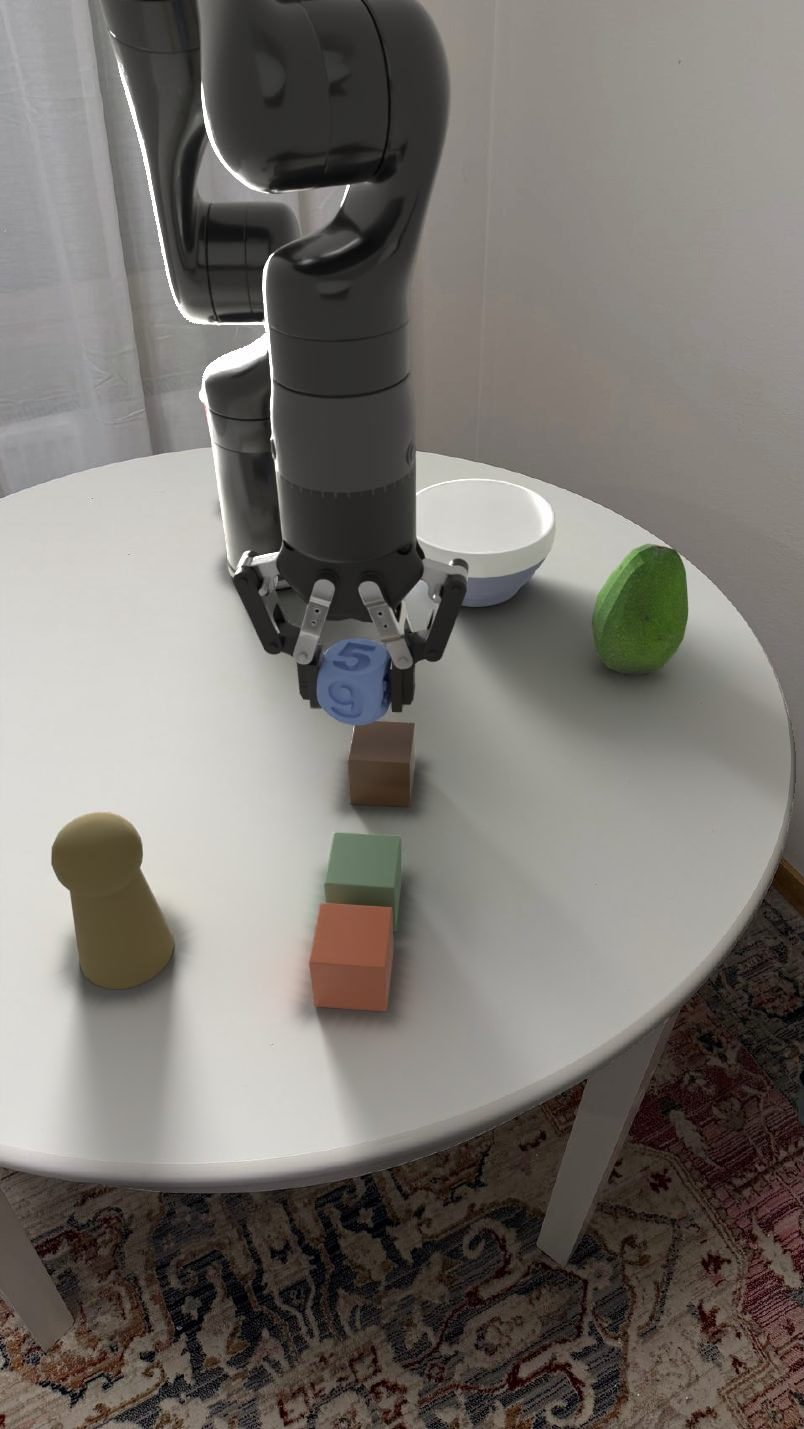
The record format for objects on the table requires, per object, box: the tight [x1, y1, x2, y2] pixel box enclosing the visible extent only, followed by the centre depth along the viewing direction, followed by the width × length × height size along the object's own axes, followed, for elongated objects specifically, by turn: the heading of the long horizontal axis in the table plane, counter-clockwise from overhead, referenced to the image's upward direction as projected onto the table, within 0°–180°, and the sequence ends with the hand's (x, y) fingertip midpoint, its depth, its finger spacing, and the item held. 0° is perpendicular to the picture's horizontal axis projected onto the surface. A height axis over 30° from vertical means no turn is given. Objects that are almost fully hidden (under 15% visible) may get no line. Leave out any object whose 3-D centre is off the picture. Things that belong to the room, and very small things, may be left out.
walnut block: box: [347, 720, 416, 808], centre depth 75 cm, size 4×4×4 cm
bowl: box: [416, 478, 557, 608], centre depth 95 cm, size 14×14×8 cm
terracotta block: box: [308, 902, 395, 1013], centre depth 62 cm, size 4×4×4 cm
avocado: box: [591, 543, 689, 675], centre depth 84 cm, size 8×8×12 cm
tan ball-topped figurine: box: [50, 811, 175, 990], centre depth 62 cm, size 6×6×11 cm
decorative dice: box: [317, 637, 392, 726], centre depth 63 cm, size 4×4×4 cm
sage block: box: [323, 831, 403, 933], centre depth 66 cm, size 4×4×4 cm
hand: (357, 701), depth 64 cm, fingers closed on decorative dice, 4 cm apart
